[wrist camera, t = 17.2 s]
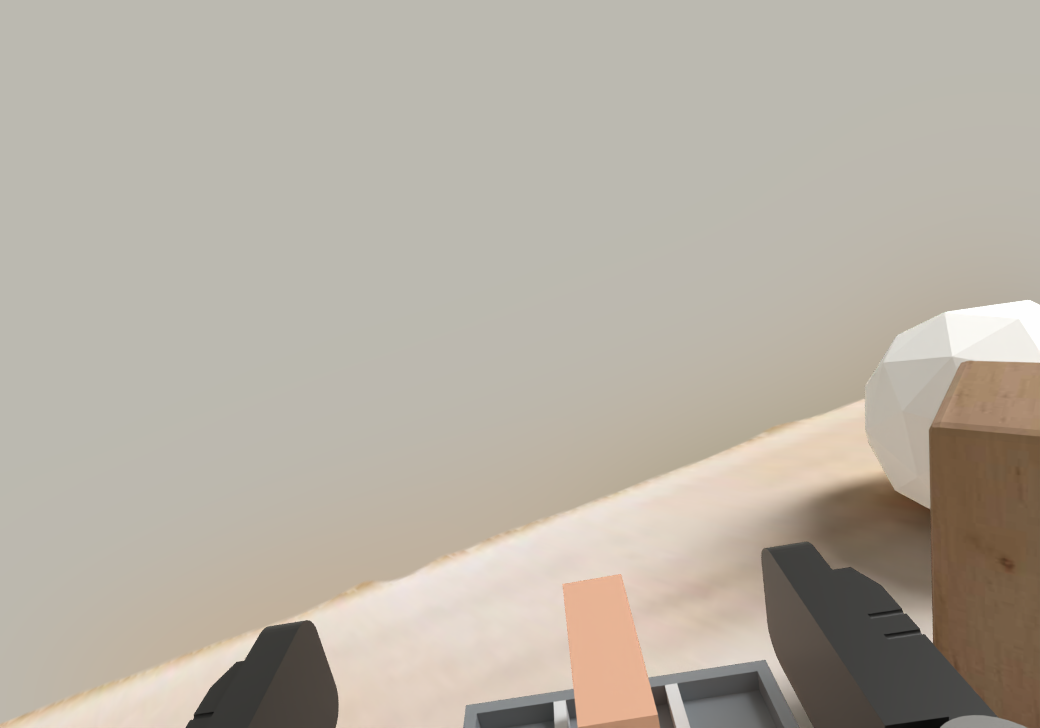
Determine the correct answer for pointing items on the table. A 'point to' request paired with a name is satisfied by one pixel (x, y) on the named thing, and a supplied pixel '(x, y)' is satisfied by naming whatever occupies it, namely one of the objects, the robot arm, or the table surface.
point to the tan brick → (606, 657)
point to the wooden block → (989, 533)
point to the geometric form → (937, 381)
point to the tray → (661, 702)
